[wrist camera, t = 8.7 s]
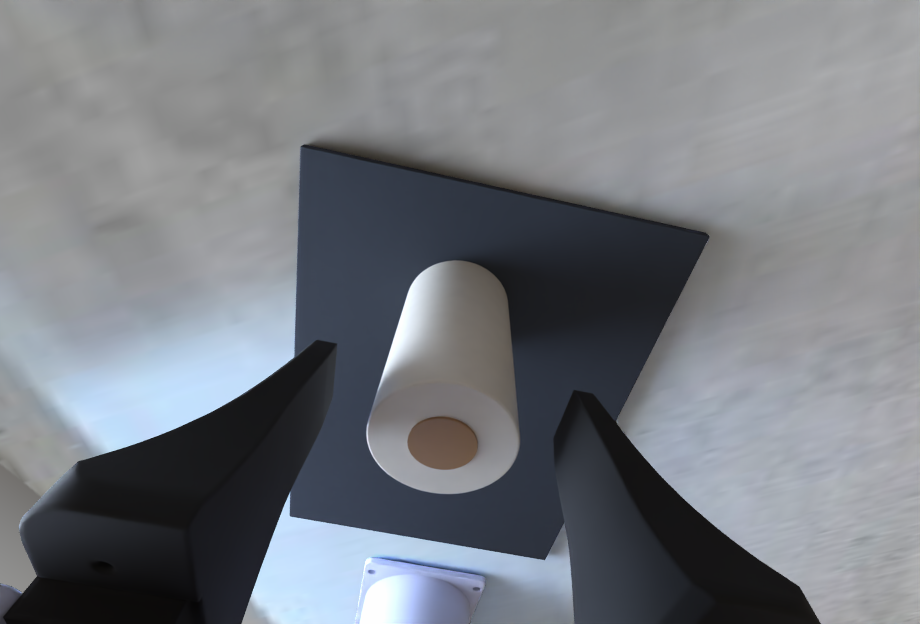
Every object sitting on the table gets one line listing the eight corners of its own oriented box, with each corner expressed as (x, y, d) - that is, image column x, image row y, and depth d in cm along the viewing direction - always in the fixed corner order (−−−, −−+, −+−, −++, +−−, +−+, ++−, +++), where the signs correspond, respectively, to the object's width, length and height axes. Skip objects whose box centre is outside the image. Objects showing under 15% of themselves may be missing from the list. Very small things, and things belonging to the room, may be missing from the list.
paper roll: (499, 508, 14) (539, 401, 12) (357, 483, 14) (374, 369, 12) (494, 356, 21) (519, 271, 19) (400, 338, 21) (415, 249, 19)
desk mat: (544, 554, 30) (545, 560, 29) (291, 510, 29) (289, 516, 28) (706, 232, 19) (710, 236, 18) (303, 143, 18) (300, 146, 17)
